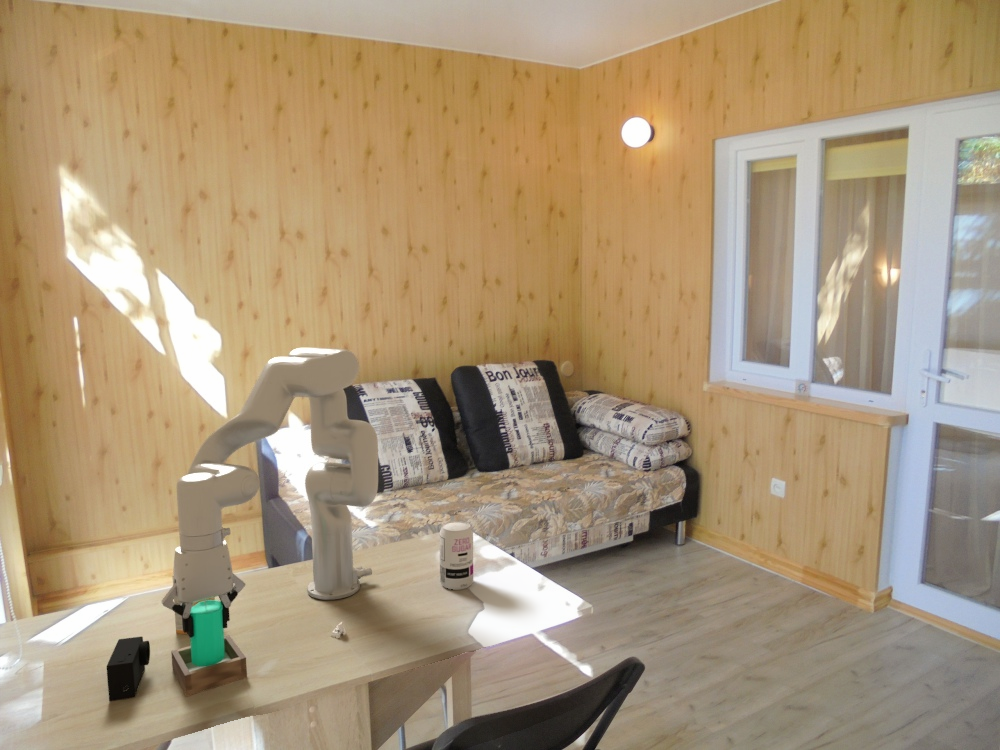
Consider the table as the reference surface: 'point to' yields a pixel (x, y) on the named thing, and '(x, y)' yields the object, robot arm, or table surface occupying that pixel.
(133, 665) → the digital camera
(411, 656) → the table surface
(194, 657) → the candle
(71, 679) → the table surface
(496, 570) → the table surface
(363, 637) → the table surface
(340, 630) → the white irregular piece
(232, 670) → the open wooden box
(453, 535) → the supplement can
